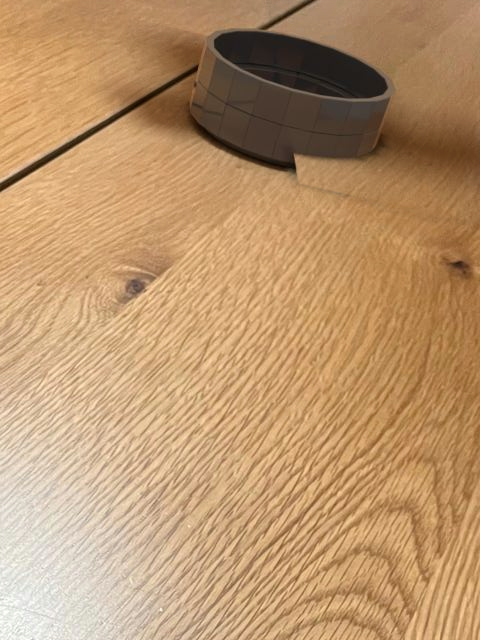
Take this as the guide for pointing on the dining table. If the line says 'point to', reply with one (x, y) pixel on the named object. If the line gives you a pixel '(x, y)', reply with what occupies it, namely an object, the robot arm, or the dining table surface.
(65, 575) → the dining table surface
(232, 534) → the dining table surface
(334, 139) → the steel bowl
